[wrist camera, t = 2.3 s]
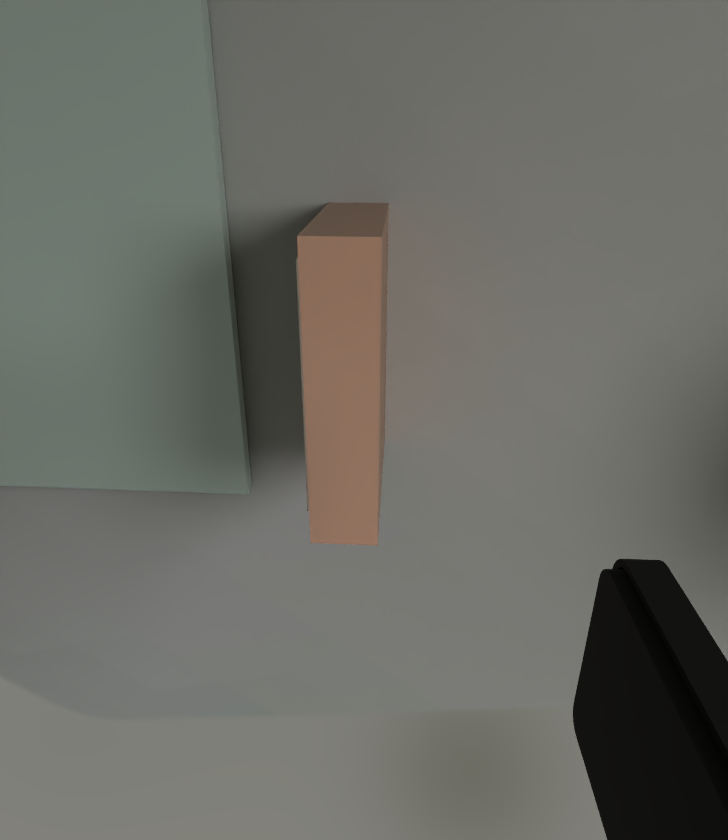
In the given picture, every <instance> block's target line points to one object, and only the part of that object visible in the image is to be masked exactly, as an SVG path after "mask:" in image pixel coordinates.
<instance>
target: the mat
mask: <svg viewBox="0 0 728 840" xmlns="http://www.w3.org/2000/svg"><path fill="white" fill-rule="evenodd" d="M0 486H24V487H52V488H80V489H108V490H137V491H165V492H193V493H221V494H249V491H250V489H251V487H252V482H251V471H250V460H249V449H248V438H247V427H246V416H245V405H244V394H243V384H242V373H241V362H240V351H239V340H238V329H237V318H236V307H235V296H234V285H233V274H232V263H231V252H230V242H229V231H228V220H227V209H226V198H225V187H224V176H223V165H222V154H221V143H220V132H219V121H218V110H217V100H216V89H215V78H214V67H213V56H212V45H211V34H210V23H209V12H208V1H207V0H0Z"/></svg>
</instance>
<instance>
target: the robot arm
mask: <svg viewBox="0 0 728 840" xmlns="http://www.w3.org/2000/svg"><path fill="white" fill-rule="evenodd" d="M573 722H574V729H575V733H576V736H577V740H578V743H579V747H580V750H581V754H582V757H583V760H584V763H585V767H586V770H587V773H588V777H589V780H590V783H591V787H592V790H593V793H594V797H595V800H596V803H597V807H598V810H599V813H600V817H601V820H602V823H603V827H604V830H605V833H606V837H607V840H728V661H727V660H726V658H725V656H724V655H723V653H722V652H721V650H720V649H719V647H718V645H717V644H716V642H715V641H714V639H713V637H712V636H711V634H710V633H709V631H708V630H707V628H706V626H705V625H704V623H703V622H702V620H701V618H700V617H699V615H698V614H697V612H696V611H695V609H694V607H693V606H692V604H691V603H690V601H689V599H688V598H687V596H686V595H685V593H684V592H683V590H682V588H681V587H680V585H679V584H678V582H677V580H676V579H675V577H674V576H673V574H672V573H671V571H670V569H669V568H668V566H667V565H666V564H665V563H664V562H663V561H660V560H639V559H619V560H617V561H616V562H615V564H614V566H613V569H604V570H603V571H602V572H601V574H600V578H599V582H598V587H597V592H596V597H595V602H594V607H593V612H592V617H591V622H590V627H589V631H588V636H587V641H586V646H585V651H584V656H583V661H582V666H581V671H580V676H579V681H578V685H577V690H576V695H575V700H574V706H573Z"/></svg>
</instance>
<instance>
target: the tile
mask: <svg viewBox="0 0 728 840" xmlns="http://www.w3.org/2000/svg"><path fill="white" fill-rule="evenodd" d="M388 226H389V203H328V204H327V205H326V206H325V207H324V208H323V209H322V210H321V211H320V212H319V213H318V214H317V215H316V217H315V218H314V219H313V220H312V221H311V222H310V223H309V224H308V225H307V226H306V227H305V228H304V229H303V230H302V231H301V232H300V233H299V234H298V235H297V248H298V257H297V258H296V274H297V295H298V317H299V339H300V360H301V382H302V403H303V425H304V447H305V468H306V490H307V511H309V516H310V539H311V543H330V544H356V545H378V532H379V517H380V502H381V487H382V473H383V458H384V443H385V391H386V336H387V281H388Z"/></svg>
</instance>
